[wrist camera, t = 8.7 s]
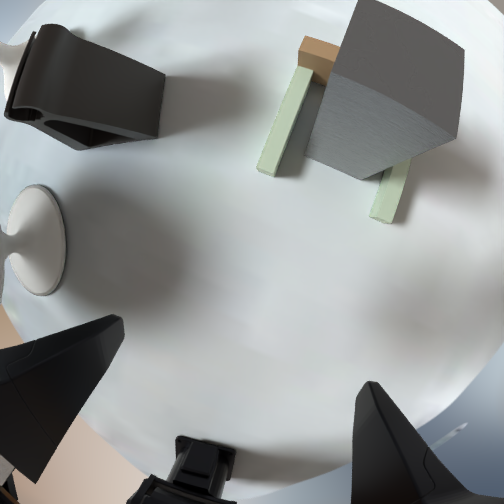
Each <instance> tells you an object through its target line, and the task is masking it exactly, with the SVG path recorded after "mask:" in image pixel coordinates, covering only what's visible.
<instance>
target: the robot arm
mask: <svg viewBox="0 0 504 504" xmlns="http://www.w3.org/2000/svg"><path fill="white" fill-rule="evenodd" d="M124 335H125V333H124V325H123V319H122V318H121V317H119V316H117V315H114V314H111V315H108V316H105V317H102V318H99V319H96V320H93V321H91V322H88V323H85V324H82V325H79V326H76V327H73V328H70V329H67V330H64V331H61V332H58V333H55V334H51V335H48V336H45V337H42V338H39V339H36V340H33V341H30V342H27V343H23V344H20V345H17V346H13V347H9V348H4V349H0V504H20V503H19V502H18V501H17V500H18V497H17V493H16V489H15V484H14V480H13V475H12V472H13V471H14V469H15V468H16V469H17V470H18V471H19V472H21V473H22V474H23V475H25V476H26V477H27V478H28V479H29V480H31V481H32V482H33V483H35V484H36V483H37V481H38V480H39V478H40V476H41V474H42V473H43V471H44V469H45V467H46V466H47V464H48V462H49V460H50V459H51V457H52V455H53V454H54V452H55V450H56V449H57V447H58V445H59V443H60V442H61V440H62V438H63V437H64V435H65V434H66V432H67V430H68V429H69V427H70V425H71V424H72V422H73V421H74V419H75V418H76V416H77V415H78V413H79V411H80V410H81V408H82V407H83V405H84V404H85V402H86V401H87V399H88V398H89V396H90V395H91V393H92V392H93V390H94V389H95V387H96V386H97V384H98V383H99V381H100V380H101V378H102V377H103V375H104V374H105V372H106V371H107V369H108V367H109V366H110V364H111V362H112V360H113V358H114V356H115V354H116V353H117V351H118V349H119V347H120V345H121V343H122V342H123V340H124ZM175 445H176V461H175V463H174V465H173V467H172V470H171V472H170V474H169V476H168V478H167V480H166V481H165V480H163V479H160V478H158V477H156V476H155V475H153V474H151V475H150V477H149V478H148V479H144V481H143V482H142V484H141V486H140V488H139V489H138V490H137V491H136V492H135V493H134V494H133V495H132V496H131V497H130V498H129V499H128V500H127V502H126V504H237V502H235V501H228V500H224V499H221V496H222V492H223V489H224V485H225V481H229V480H230V478H231V473H232V469H233V464H234V460H235V455H236V451H235V450H234V449H230V448H225V447H220V446H216V445H212V444H208V443H204V442H200V441H196V440H192V439H189V438H185V437H182V436H177V437H176V440H175ZM352 445H353V456H352V494H351V504H504V498H498V497H491V496H484V495H478V494H475V493H472V492H470V491H469V490H467V489H466V488H465V487H464V486H463V485H462V484H461V483H460V482H459V481H458V480H457V479H456V478H455V477H454V476H453V475H452V473H450V471H449V470H448V469H447V468H446V467H445V466H444V465H443V464H442V463H441V461H440V460H439V459H438V458H437V456H436V455H435V454H434V453H433V451H432V450H431V449H430V448H429V447H428V445H427V444H426V442H425V441H424V440H423V439H422V437H421V436H420V435H419V434H418V433H417V431H416V430H415V428H414V427H413V426H412V425H411V423H410V422H409V421H408V419H407V418H406V417H405V416H404V414H403V413H402V412H401V411H400V409H399V408H398V407H397V406H396V404H395V403H394V402H393V400H392V399H391V398H390V397H389V395H388V394H387V393H386V392H385V390H384V389H383V388H382V387H381V385H380V384H379V383H378V382H374V381H367V382H366V383H365V384H364V386H363V387H362V389H361V390H360V392H359V393H358V395H357V397H356V402H355V415H354V426H353V440H352Z"/></svg>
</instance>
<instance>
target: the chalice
mask: <svg viewBox="0 0 504 504" xmlns="http://www.w3.org/2000/svg"><path fill="white" fill-rule="evenodd" d="M8 255H9V259H10V262H11V265H12V268H13V270H14V272H15V274H16V276H17V278H18V280H19V281H20V282H21V284H22V285H23V286H24V287H25V288H26V289H27V290H28V291H29V292H31V293H32V294H34V295H37V296H45V295H48V294H50V293H51V292H52V291H53V290H54V289H55V288H56V287H57V285H58V283H59V282H60V279H61V276H62V273H63V270H64V264H65V258H66V239H65V228H64V224H63V219H62V215H61V212H60V209H59V206H58V204H57V202H56V200H55V199H54V197H53V195H52V194H51V193H50V192H49V191H48V190H47V189H46V188H45V187H43V186H41V185H30V186H28V187H26V188H25V189H24V190H22V191H21V192H20V194H19V195H18V196H17V198H16V199H15V201H14V203H13V206H12V208H11V211H10V214H9V218H8V224H7V234H5V233H4V232H3V231H2V230H1V226H0V304H1V300H2V293H3V287H4V273H5V270H4V262H5V259H6V258H7V257H8Z"/></svg>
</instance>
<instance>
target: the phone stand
mask: <svg viewBox="0 0 504 504" xmlns="http://www.w3.org/2000/svg"><path fill="white" fill-rule="evenodd" d="M35 34H36V32H34V31H33V32H32V34H31V36H30V39H29V41H28V43H27V45H26V48H25V50H24V53H23V55H22V58H21V60H20V63H19V66H18V68H17V71H16V74H15V77H14V80H13V83H12V86H11V90H10V93H9V96H8V100H7V104H6V108H5V112H4V116H5V117H6V118H7V119H9V120H12V121H16V122H22V123H26V124H29V125H31V126H33V127H35V128H37V129H39V130H40V131H42V132H44V133H46V134H48V135H49V136H51V137H53V138H55V139H57V140H58V141H60V142H62V143H64V144H66V145H67V146H69V147H71V148H73V149H75V150H85V149H90V148H96V147H101V146H107V145H113V144H120V143H126V142H134V141H141V140H150V139H157V133H158V124H159V115H160V107H161V100H162V93H163V87H164V80H165V74H163V73H161V72H159V71H157V70H155V69H153V68H151V67H149V66H147V65H144V64H142V63H140V62H138V61H136V60H133V59H131V58H129V57H127V56H124V55H122V54H120V53H117V52H115V51H112V50H110V49H107V48H105V47H102V46H100V45H97V44H94V43H92V42H89V41H86V40H83V39H81V38H78V37H76V36H75V35H73V34H72V33H70V32H69V31H68V30H67V29H66V28H65V27H63V26H61V25H58V24H45V25H42V26H41V28H40V30H39V32H38V35H37V37H36V39H35Z"/></svg>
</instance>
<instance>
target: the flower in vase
mask: <svg viewBox="0 0 504 504" xmlns="http://www.w3.org/2000/svg"><path fill="white" fill-rule="evenodd" d="M36 37H37V35H36V36H35V39H36ZM28 41H29V40H27V41H26V42H24V43H22V44H20V45H17V46H11V45H7V44H4V43H2V42H0V65H1V66H2V68H3V71H4V92H5V97H6V101H7V100H8V96H9V93H10V90H11V86H12V83H13V80H14V77H15V74H16V71H17V68H18V66H19V63H20V60H21V58H22V55H23V53H24V50H25V48H26V45H27V43H28Z"/></svg>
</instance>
